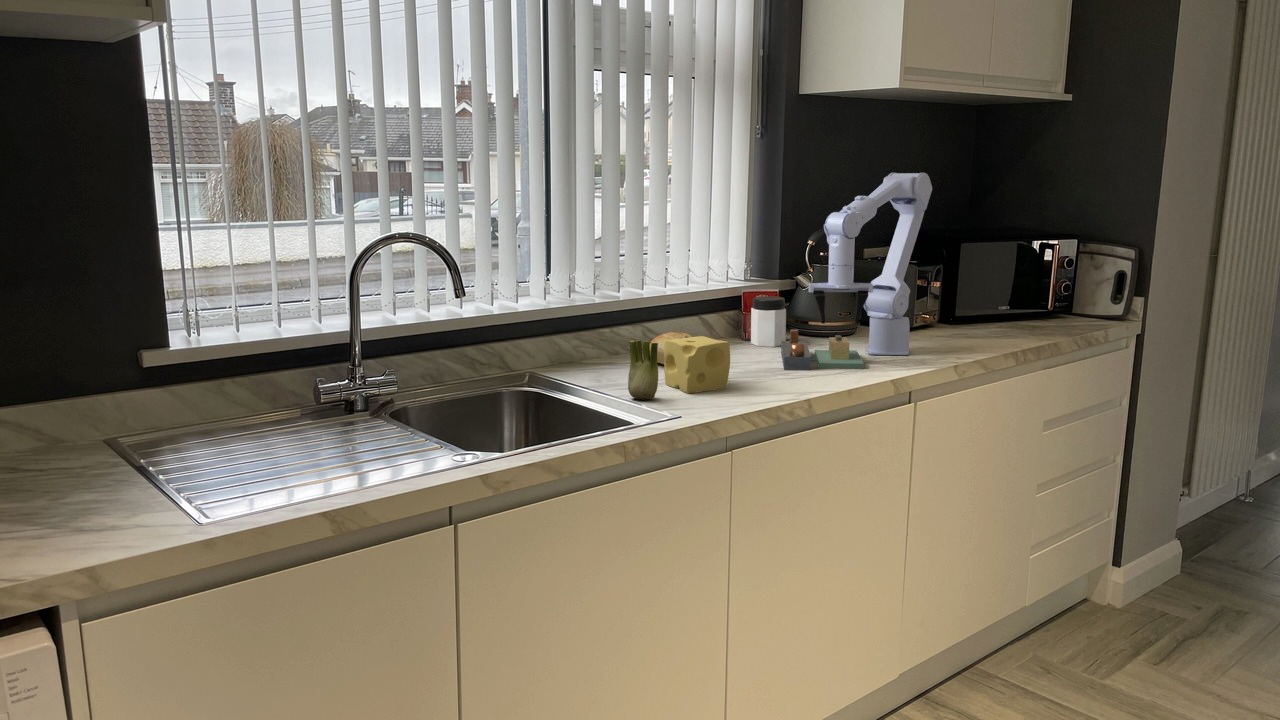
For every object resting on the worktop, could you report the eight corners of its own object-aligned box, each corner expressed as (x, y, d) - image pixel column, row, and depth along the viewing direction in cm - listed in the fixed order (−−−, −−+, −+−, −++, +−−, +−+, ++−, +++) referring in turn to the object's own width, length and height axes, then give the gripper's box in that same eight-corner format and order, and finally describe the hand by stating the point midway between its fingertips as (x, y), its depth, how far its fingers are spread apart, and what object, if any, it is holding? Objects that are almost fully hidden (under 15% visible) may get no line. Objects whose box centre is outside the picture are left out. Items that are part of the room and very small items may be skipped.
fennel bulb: (661, 399, 194) (661, 340, 192) (643, 403, 191) (642, 343, 189) (642, 394, 199) (641, 336, 196) (623, 398, 195) (622, 339, 193)
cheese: (687, 394, 198) (687, 346, 196) (662, 384, 208) (661, 338, 206) (730, 388, 203) (731, 341, 201) (703, 379, 212) (703, 334, 211)
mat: (856, 355, 236) (856, 350, 236) (863, 368, 221) (864, 363, 221) (814, 354, 238) (814, 350, 237) (819, 368, 222) (819, 363, 222)
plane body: (781, 353, 240) (781, 329, 239) (805, 353, 240) (806, 329, 239) (784, 369, 221) (784, 343, 220) (810, 370, 220) (811, 343, 219)
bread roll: (668, 359, 235) (667, 326, 234) (711, 368, 224) (711, 334, 222) (637, 364, 229) (637, 331, 228) (680, 374, 218) (680, 339, 216)
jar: (769, 348, 246) (770, 301, 244) (744, 344, 252) (745, 298, 250) (791, 343, 252) (792, 297, 250) (766, 340, 258) (767, 295, 256)
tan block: (828, 353, 233) (829, 334, 232) (845, 353, 232) (846, 334, 231) (831, 359, 226) (831, 339, 225) (848, 359, 225) (849, 340, 224)
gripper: (810, 266, 222) (809, 325, 224) (875, 266, 220) (873, 325, 223) (808, 263, 228) (807, 320, 231) (871, 263, 227) (869, 321, 230)
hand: (839, 323), depth 227 cm, fingers open, 7 cm apart
